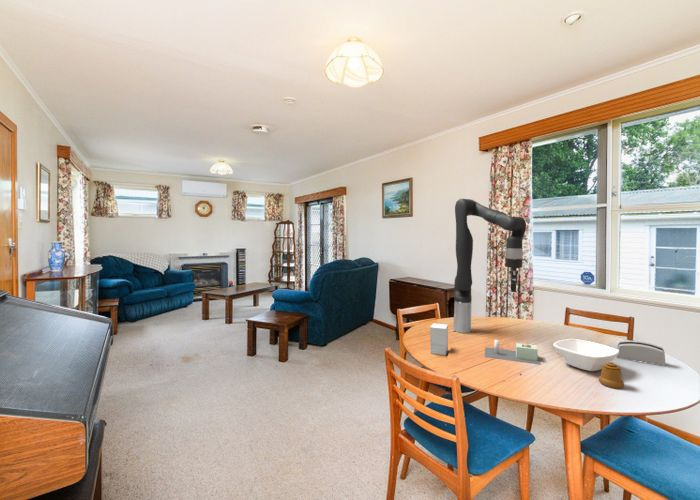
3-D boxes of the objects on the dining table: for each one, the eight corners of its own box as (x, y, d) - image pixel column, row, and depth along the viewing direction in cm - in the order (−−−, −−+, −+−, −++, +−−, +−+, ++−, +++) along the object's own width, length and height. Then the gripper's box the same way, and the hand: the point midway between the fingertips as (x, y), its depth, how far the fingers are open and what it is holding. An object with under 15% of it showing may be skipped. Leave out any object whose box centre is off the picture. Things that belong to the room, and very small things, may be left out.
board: (484, 360, 149) (484, 343, 149) (485, 350, 162) (485, 334, 161) (541, 368, 140) (541, 350, 140) (537, 356, 153) (537, 340, 153)
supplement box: (448, 350, 162) (448, 324, 161) (445, 355, 155) (446, 328, 154) (432, 348, 165) (433, 322, 164) (429, 353, 158) (429, 326, 157)
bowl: (598, 381, 128) (599, 359, 127) (545, 363, 146) (546, 343, 146) (626, 371, 137) (627, 350, 137) (573, 354, 156) (573, 336, 155)
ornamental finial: (596, 384, 125) (601, 378, 130) (621, 391, 120) (625, 385, 125) (596, 363, 125) (602, 358, 130) (622, 369, 119) (626, 364, 124)
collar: (516, 358, 147) (516, 346, 147) (515, 353, 153) (516, 342, 153) (537, 360, 144) (537, 349, 144) (535, 356, 150) (536, 345, 150)
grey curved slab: (664, 362, 146) (666, 343, 143) (665, 369, 143) (668, 349, 139) (615, 354, 156) (616, 336, 153) (615, 360, 153) (616, 342, 149)
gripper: (505, 256, 173) (504, 287, 174) (505, 258, 160) (505, 292, 161) (521, 256, 170) (520, 288, 171) (523, 258, 157) (522, 293, 158)
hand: (513, 290), depth 166 cm, fingers open, 8 cm apart
